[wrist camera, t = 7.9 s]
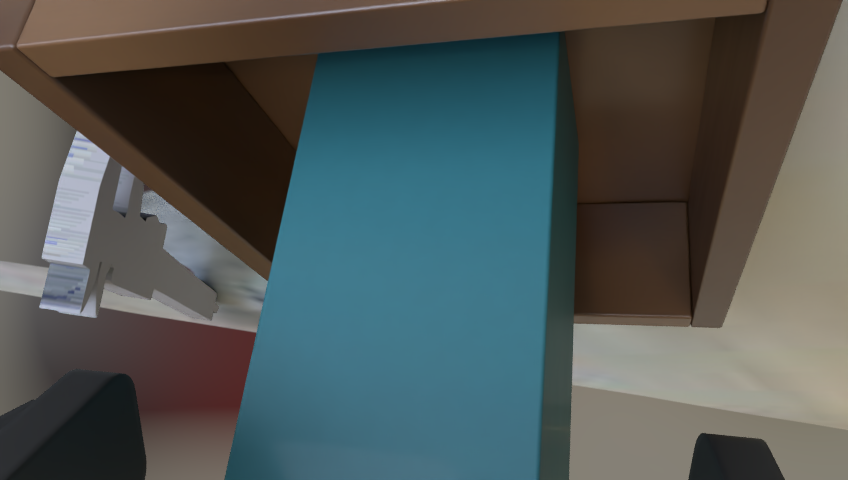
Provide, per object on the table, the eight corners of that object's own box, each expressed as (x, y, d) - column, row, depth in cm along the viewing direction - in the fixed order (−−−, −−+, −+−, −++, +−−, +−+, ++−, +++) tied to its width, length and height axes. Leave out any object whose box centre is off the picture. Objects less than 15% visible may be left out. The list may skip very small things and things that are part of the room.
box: (816, -291, 9) (861, -46, 7) (713, 188, 20) (722, 328, 19) (61, -139, 13) (-28, 51, 11) (333, 197, 24) (310, 316, 22)
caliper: (96, 68, 18) (13, 289, 16) (138, 76, 18) (62, 296, 16) (201, 299, 37) (170, 418, 34) (221, 302, 37) (192, 421, 35)
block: (561, 4, 13) (534, 583, 9) (579, 144, 18) (566, 578, 14) (322, 28, 15) (209, 538, 11) (393, 152, 19) (332, 546, 15)
